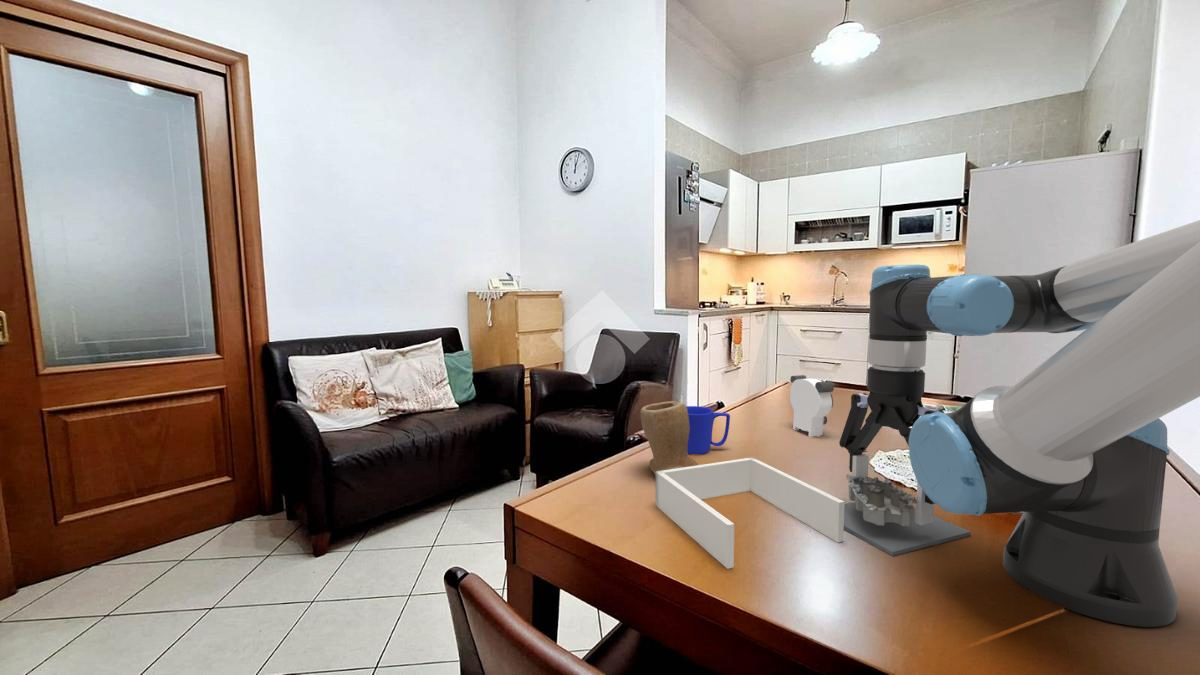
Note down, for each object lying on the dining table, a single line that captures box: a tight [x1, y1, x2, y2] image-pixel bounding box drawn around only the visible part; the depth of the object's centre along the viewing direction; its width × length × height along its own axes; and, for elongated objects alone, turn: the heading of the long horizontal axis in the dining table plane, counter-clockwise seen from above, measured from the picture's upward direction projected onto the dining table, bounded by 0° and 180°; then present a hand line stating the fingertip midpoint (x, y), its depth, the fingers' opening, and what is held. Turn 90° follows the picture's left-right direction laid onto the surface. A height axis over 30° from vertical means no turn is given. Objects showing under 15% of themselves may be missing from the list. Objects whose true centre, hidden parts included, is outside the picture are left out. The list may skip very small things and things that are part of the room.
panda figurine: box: [789, 374, 835, 438], centre depth 123 cm, size 12×11×15 cm
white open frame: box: [654, 456, 845, 570], centre depth 77 cm, size 21×20×6 cm
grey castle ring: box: [846, 474, 917, 526], centre depth 75 cm, size 11×8×4 cm
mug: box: [685, 405, 731, 455], centre depth 111 cm, size 8×12×10 cm
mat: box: [844, 501, 972, 557], centre depth 76 cm, size 14×16×1 cm
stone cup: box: [640, 400, 700, 476], centre depth 96 cm, size 15×12×15 cm
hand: (889, 507), depth 76 cm, fingers closed on grey castle ring, 10 cm apart
